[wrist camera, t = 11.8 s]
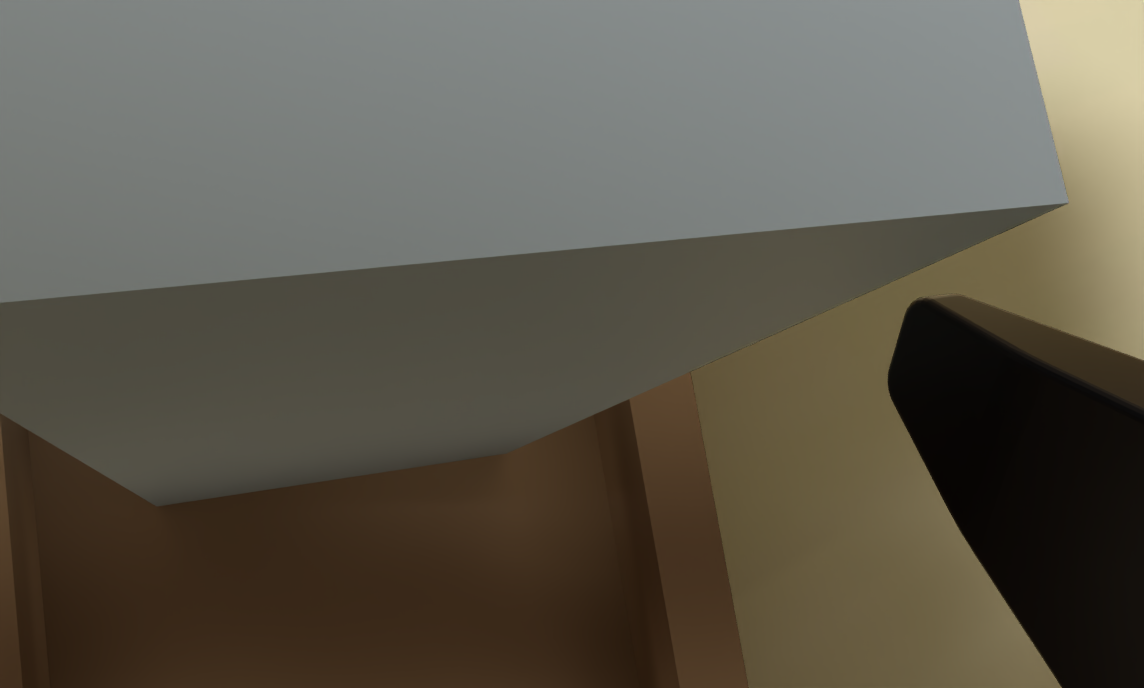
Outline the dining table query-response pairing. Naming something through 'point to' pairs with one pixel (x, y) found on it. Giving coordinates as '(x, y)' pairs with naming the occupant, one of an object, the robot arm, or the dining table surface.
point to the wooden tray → (382, 570)
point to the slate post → (463, 210)
